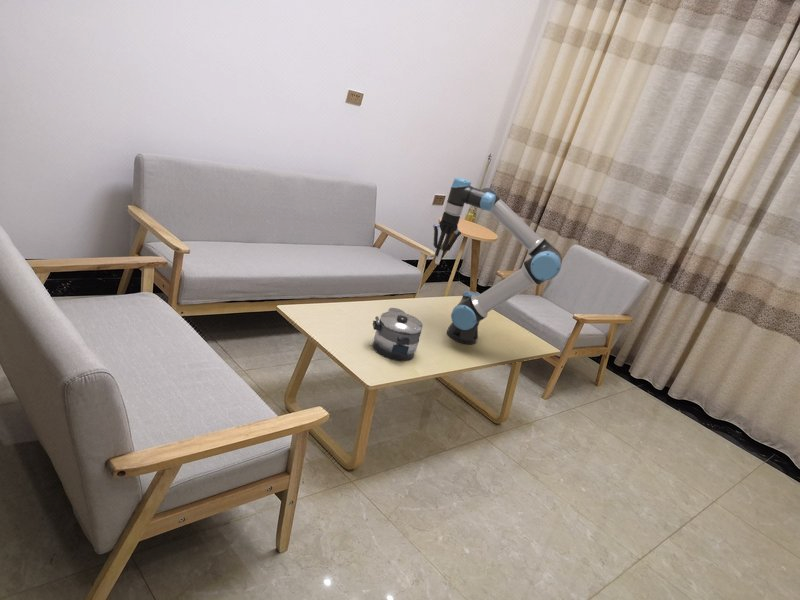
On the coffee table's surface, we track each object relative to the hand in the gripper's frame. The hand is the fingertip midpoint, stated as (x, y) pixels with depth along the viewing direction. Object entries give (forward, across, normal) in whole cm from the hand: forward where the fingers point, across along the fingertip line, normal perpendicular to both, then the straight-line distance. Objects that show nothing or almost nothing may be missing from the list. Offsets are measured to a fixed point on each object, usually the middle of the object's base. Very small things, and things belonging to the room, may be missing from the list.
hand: (436, 263), depth 245 cm
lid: (+23, +16, +25) cm, 37 cm away
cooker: (+34, +15, +25) cm, 45 cm away
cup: (+35, +13, +6) cm, 37 cm away
